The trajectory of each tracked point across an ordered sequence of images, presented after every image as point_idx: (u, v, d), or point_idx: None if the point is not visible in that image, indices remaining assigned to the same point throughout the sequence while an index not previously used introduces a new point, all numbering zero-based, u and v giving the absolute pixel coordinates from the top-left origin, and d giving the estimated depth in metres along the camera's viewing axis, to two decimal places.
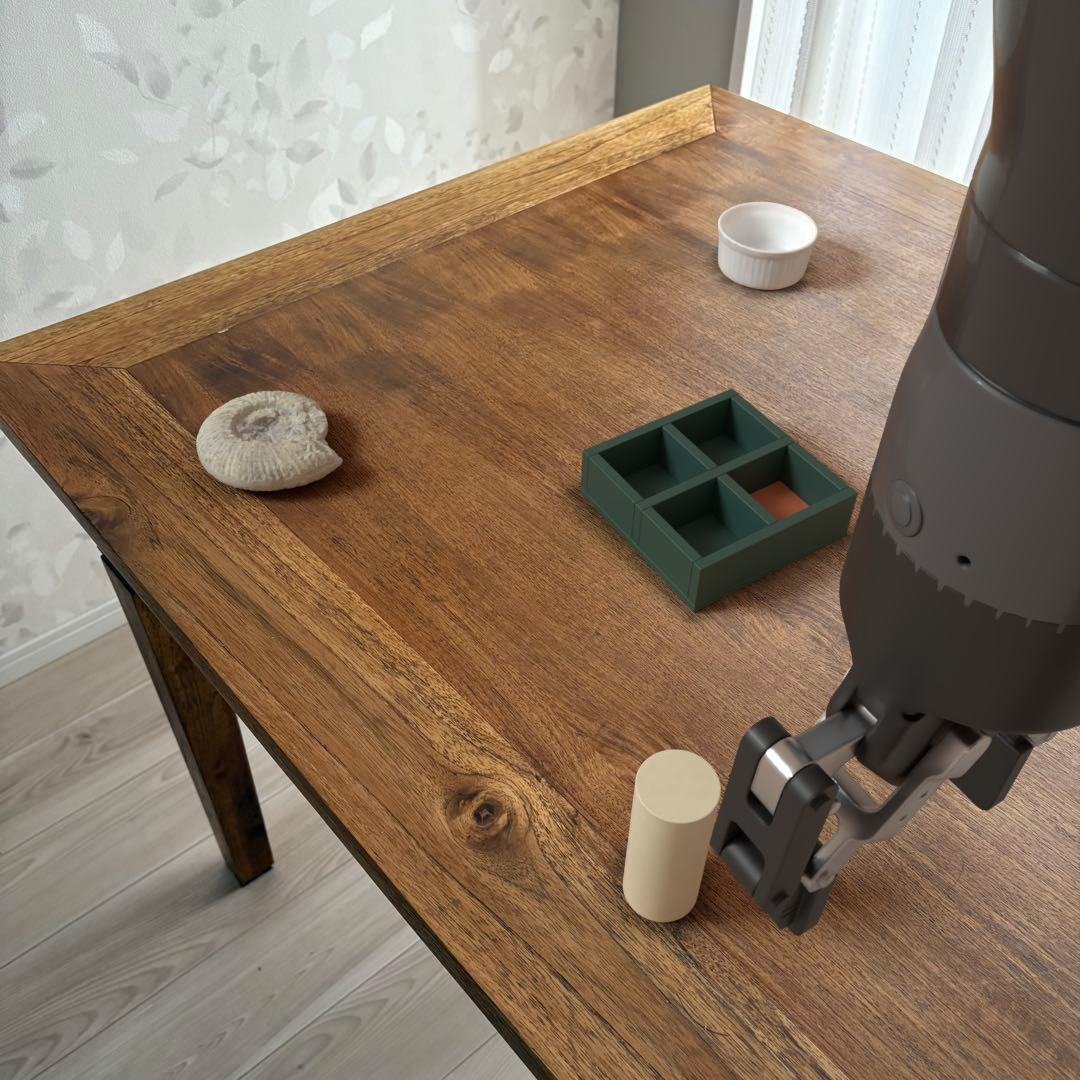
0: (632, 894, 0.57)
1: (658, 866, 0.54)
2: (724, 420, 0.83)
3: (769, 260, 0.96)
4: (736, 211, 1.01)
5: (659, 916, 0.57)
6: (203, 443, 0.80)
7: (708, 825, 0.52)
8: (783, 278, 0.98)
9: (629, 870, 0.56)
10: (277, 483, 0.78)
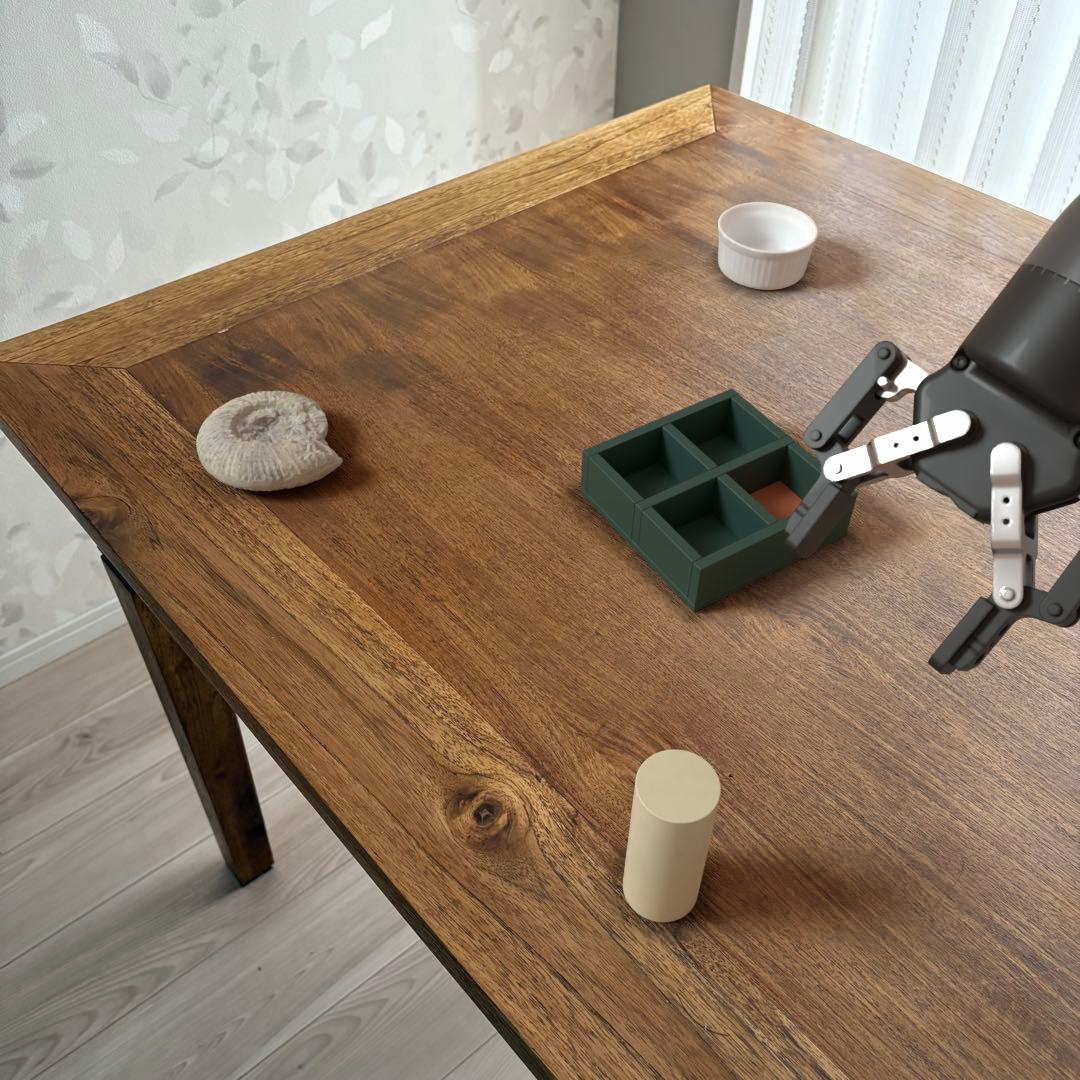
0: (632, 894, 0.57)
1: (658, 866, 0.54)
2: (724, 420, 0.83)
3: (769, 260, 0.96)
4: (736, 211, 1.01)
5: (659, 916, 0.57)
6: (203, 443, 0.80)
7: (708, 825, 0.52)
8: (783, 278, 0.98)
9: (629, 870, 0.56)
10: (277, 483, 0.78)
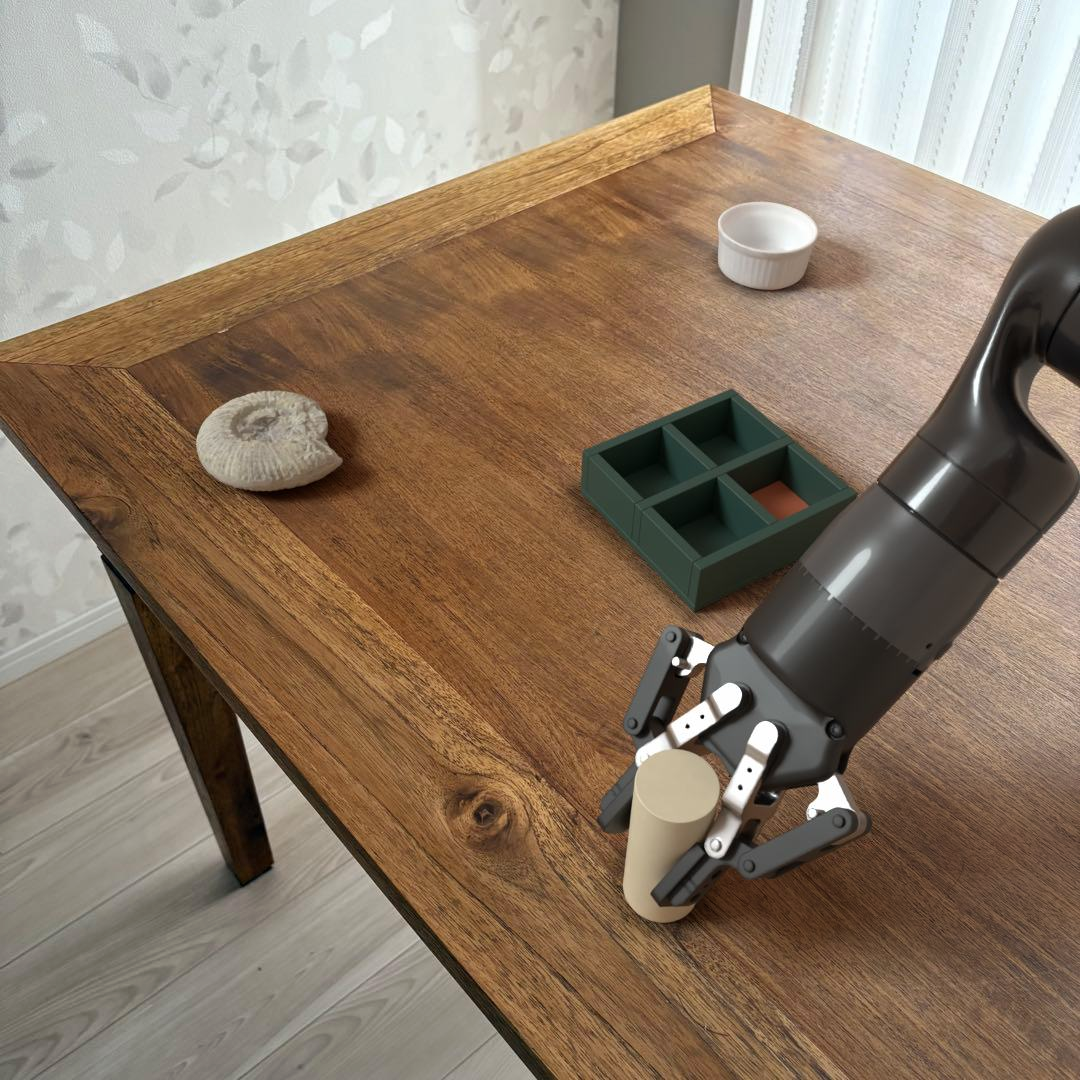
0: (632, 894, 0.57)
1: (658, 866, 0.54)
2: (724, 420, 0.83)
3: (769, 260, 0.96)
4: (736, 211, 1.01)
5: (659, 916, 0.57)
6: (203, 443, 0.80)
7: (707, 825, 0.52)
8: (783, 278, 0.98)
9: (629, 870, 0.56)
10: (277, 483, 0.78)
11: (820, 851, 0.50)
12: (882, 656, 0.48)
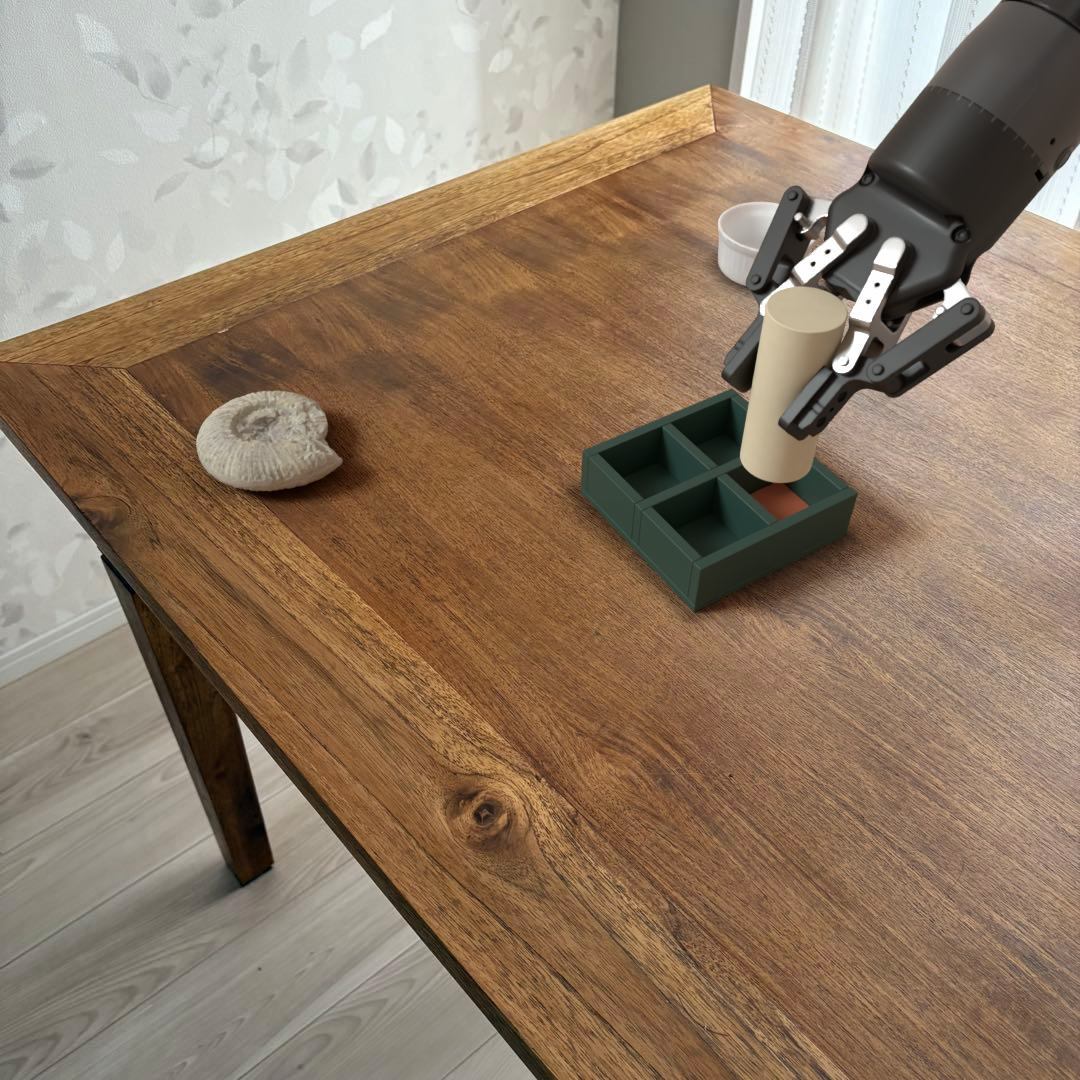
0: (752, 453, 0.60)
1: (784, 400, 0.57)
2: (724, 420, 0.83)
3: None
4: (736, 211, 1.01)
5: (778, 474, 0.60)
6: (203, 443, 0.80)
7: (835, 345, 0.55)
8: None
9: (751, 424, 0.59)
10: (277, 483, 0.78)
11: (946, 351, 0.53)
12: (1009, 148, 0.51)
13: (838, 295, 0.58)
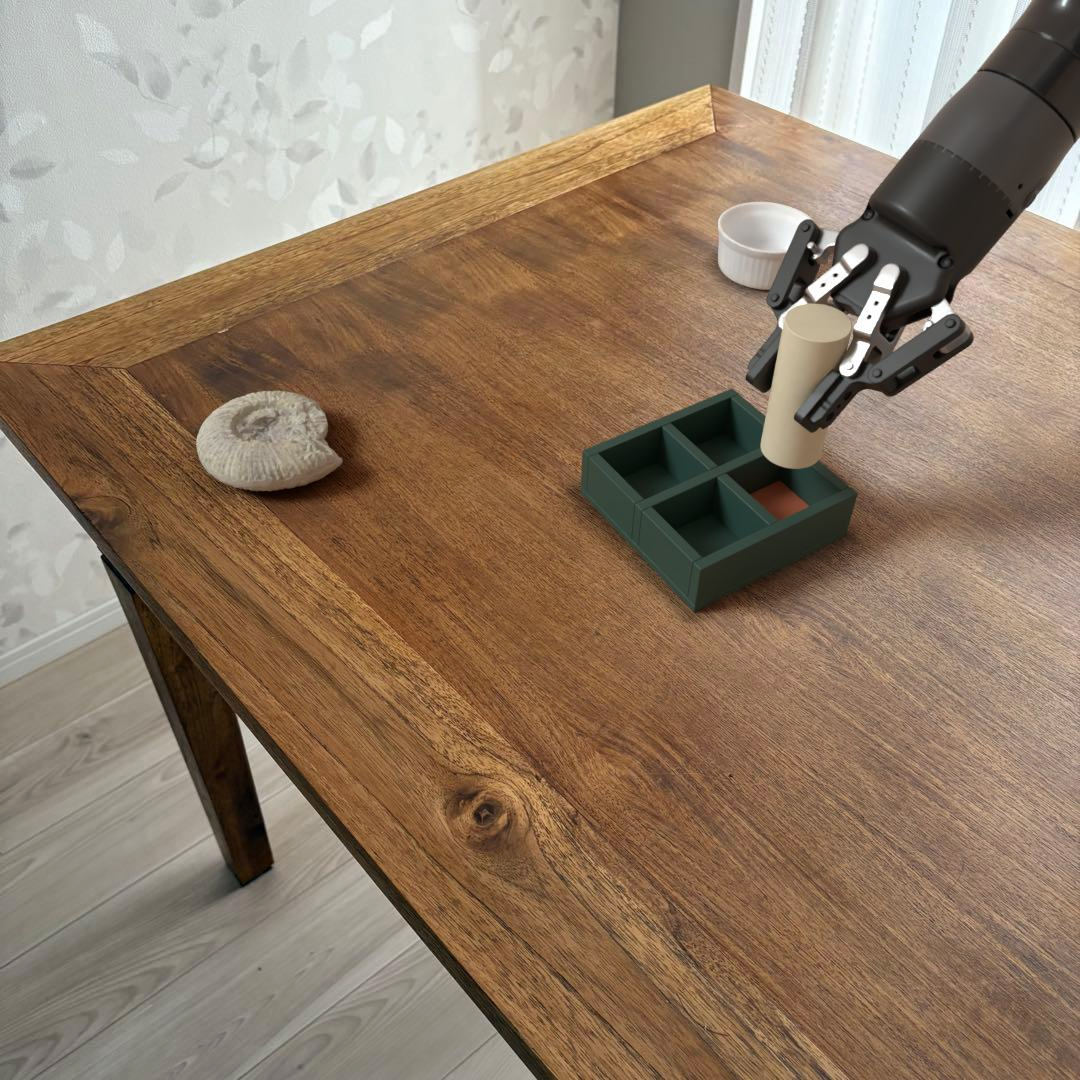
0: (771, 443, 0.72)
1: (799, 398, 0.68)
2: (724, 420, 0.83)
3: (769, 260, 0.96)
4: (736, 211, 1.01)
5: (793, 461, 0.71)
6: (203, 443, 0.80)
7: (842, 352, 0.66)
8: None
9: (771, 419, 0.71)
10: (277, 483, 0.78)
11: (933, 358, 0.64)
12: (985, 192, 0.62)
13: (844, 311, 0.69)
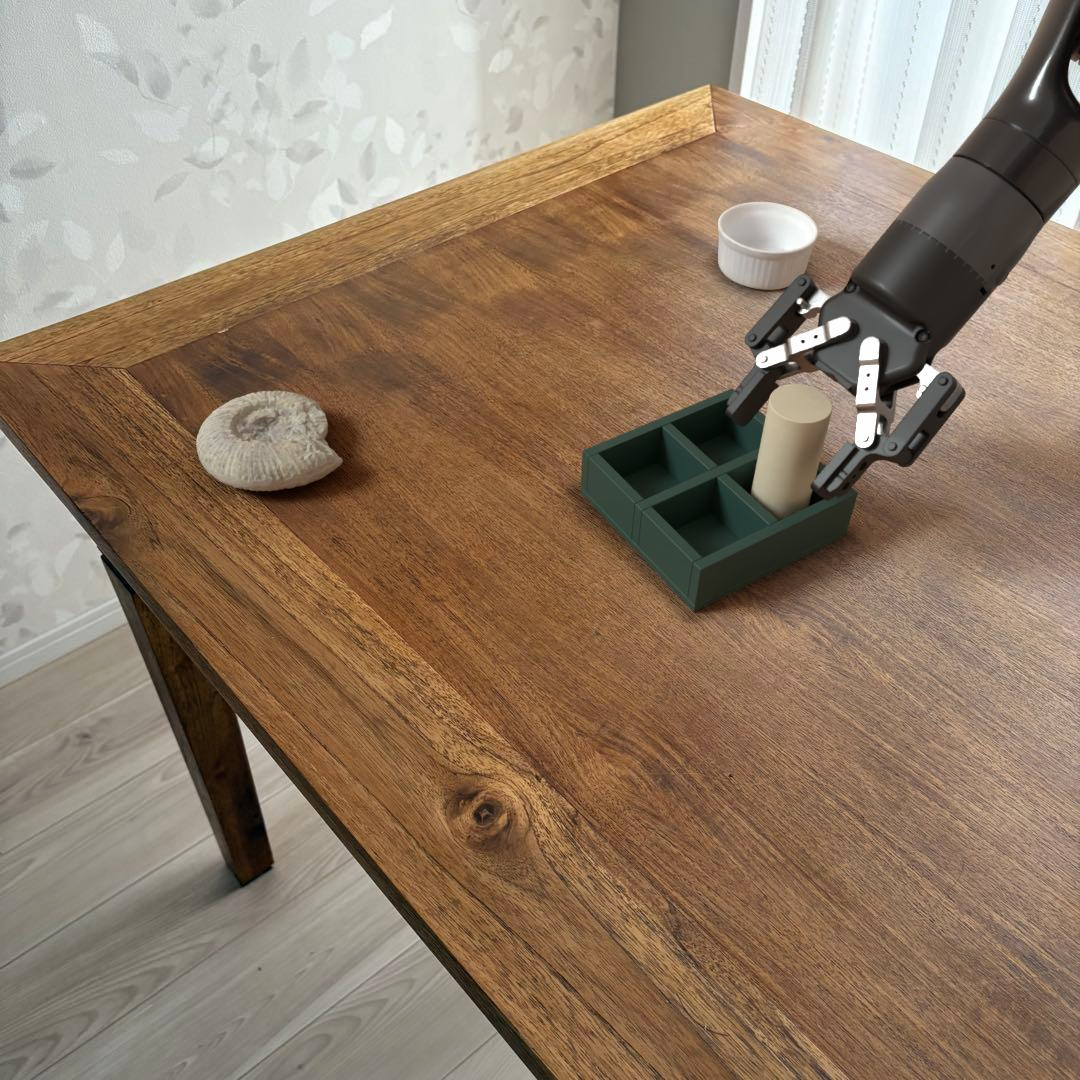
0: None
1: (783, 472, 0.72)
2: (724, 420, 0.83)
3: (769, 260, 0.96)
4: (736, 211, 1.01)
5: None
6: (203, 443, 0.80)
7: (823, 431, 0.70)
8: (783, 278, 0.98)
9: (757, 489, 0.75)
10: (277, 483, 0.78)
11: (937, 417, 0.67)
12: (959, 272, 0.66)
13: None
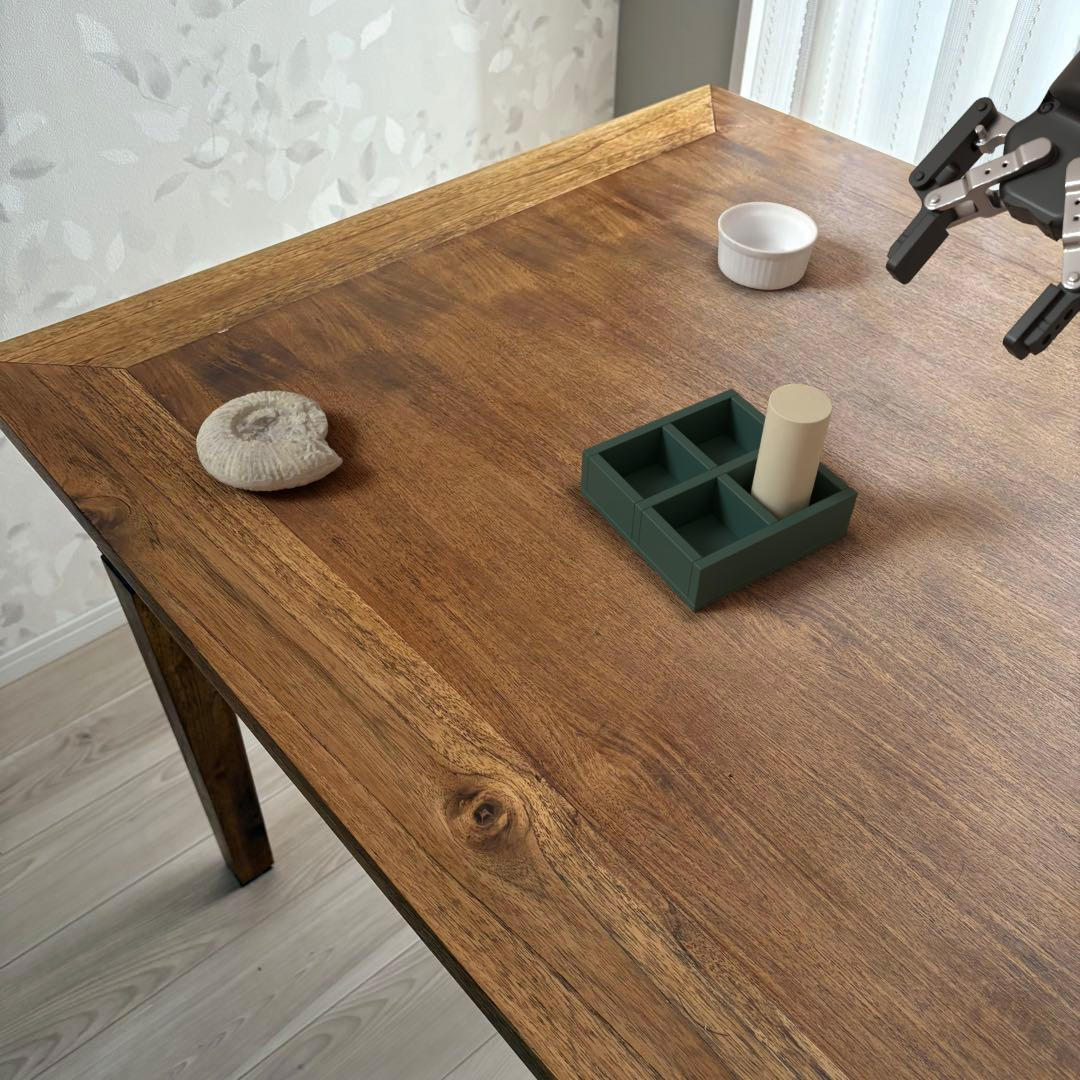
0: None
1: (783, 472, 0.72)
2: (724, 420, 0.83)
3: (769, 260, 0.96)
4: (736, 211, 1.01)
5: None
6: (203, 443, 0.80)
7: (823, 431, 0.70)
8: (783, 278, 0.98)
9: (757, 489, 0.75)
10: (277, 483, 0.78)
11: None
12: None
13: (1001, 207, 0.62)
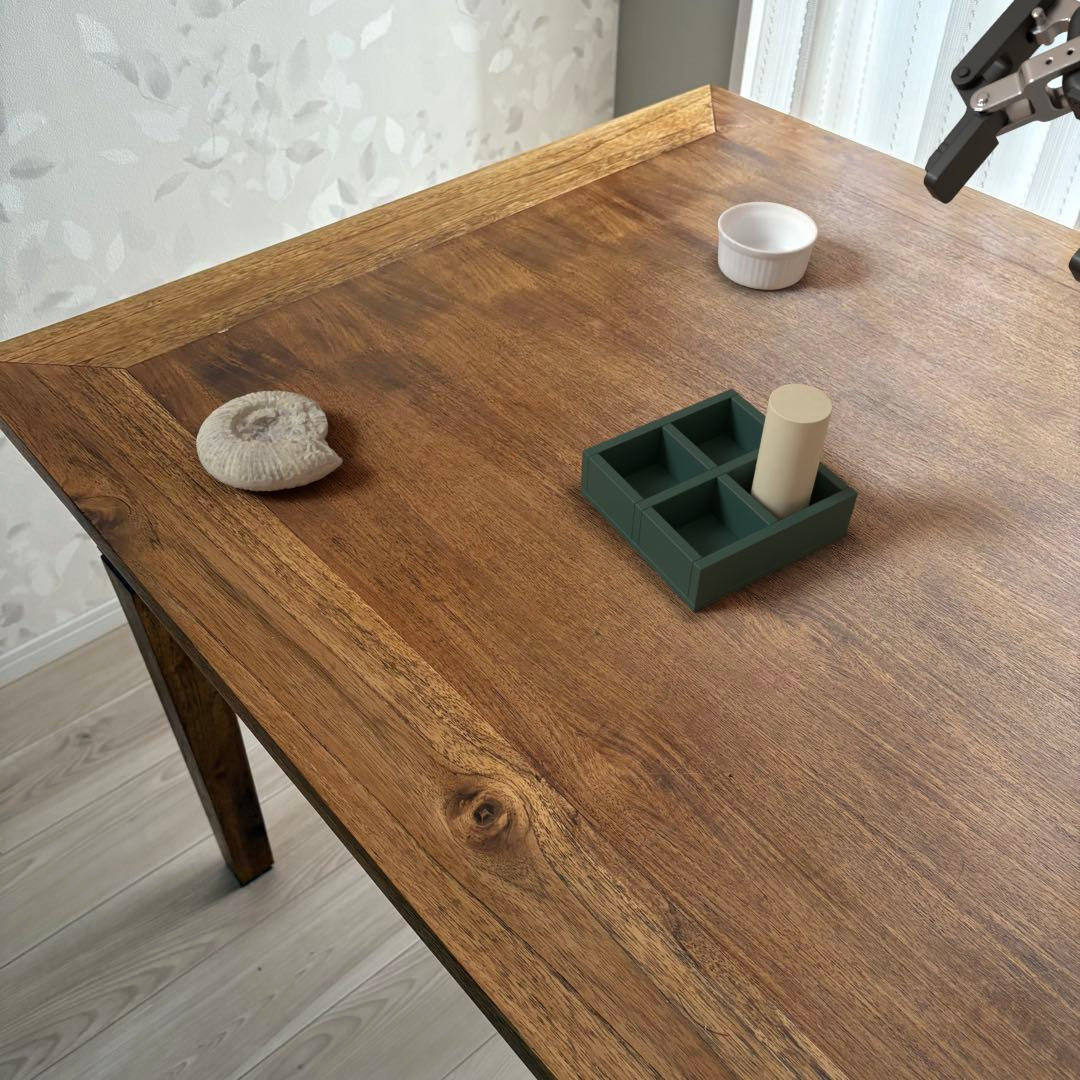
0: None
1: (783, 472, 0.72)
2: (724, 420, 0.83)
3: (769, 260, 0.96)
4: (736, 211, 1.01)
5: None
6: (203, 443, 0.80)
7: (823, 431, 0.70)
8: (783, 278, 0.98)
9: (757, 489, 0.75)
10: (277, 483, 0.78)
11: None
12: None
13: (1062, 108, 0.52)
